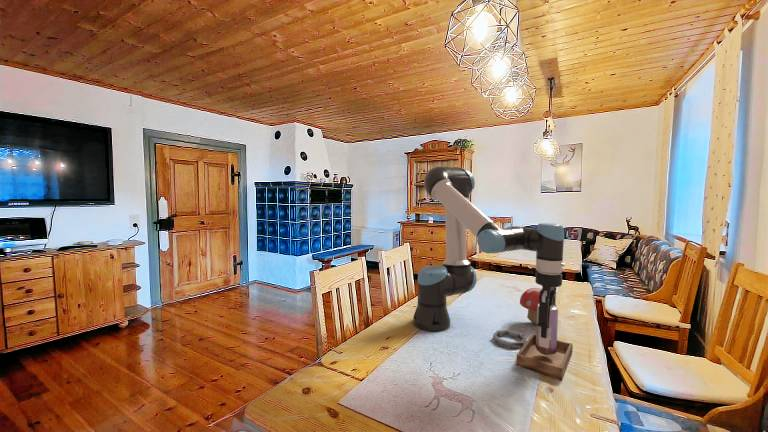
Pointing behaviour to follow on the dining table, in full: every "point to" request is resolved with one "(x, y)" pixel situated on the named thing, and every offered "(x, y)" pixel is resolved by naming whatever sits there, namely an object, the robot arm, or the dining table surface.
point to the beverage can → (552, 334)
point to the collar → (507, 343)
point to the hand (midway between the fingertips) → (546, 342)
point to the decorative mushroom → (531, 303)
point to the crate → (545, 358)
